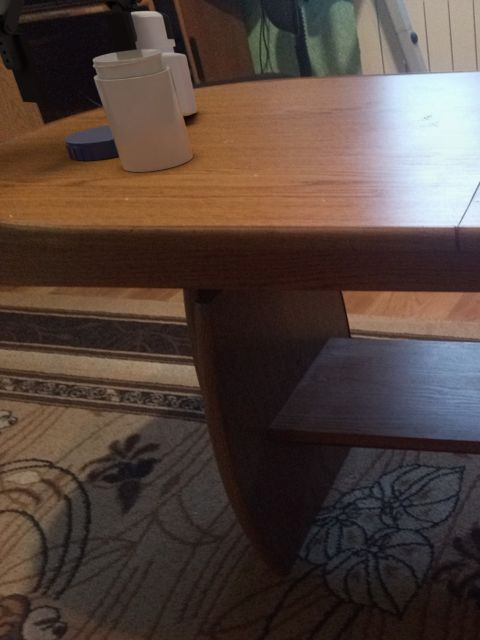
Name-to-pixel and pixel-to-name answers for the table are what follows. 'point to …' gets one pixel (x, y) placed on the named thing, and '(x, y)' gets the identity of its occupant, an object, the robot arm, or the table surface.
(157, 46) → the medicine bottle
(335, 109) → the table surface
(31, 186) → the table surface
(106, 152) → the jar lid
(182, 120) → the jar
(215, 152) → the table surface
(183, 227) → the table surface
